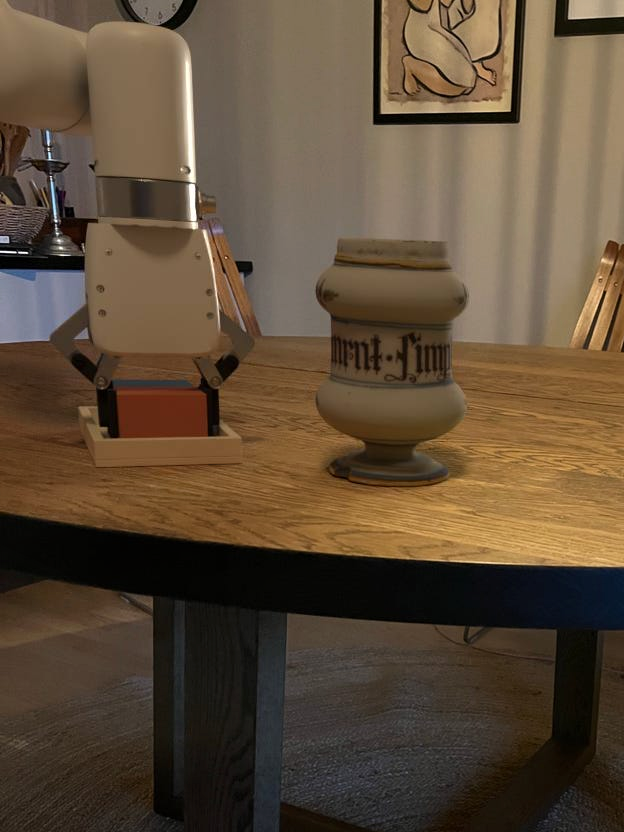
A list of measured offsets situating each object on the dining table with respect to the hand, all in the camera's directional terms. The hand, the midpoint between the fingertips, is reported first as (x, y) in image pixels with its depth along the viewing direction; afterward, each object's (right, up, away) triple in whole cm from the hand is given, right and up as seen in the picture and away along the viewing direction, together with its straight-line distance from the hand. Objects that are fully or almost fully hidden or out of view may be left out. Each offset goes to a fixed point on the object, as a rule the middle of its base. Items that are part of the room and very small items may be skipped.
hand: (160, 433), depth 87 cm
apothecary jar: (+20, -4, -2) cm, 20 cm away
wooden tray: (-1, 0, +3) cm, 3 cm away
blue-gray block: (-2, +1, +4) cm, 5 cm away
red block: (0, -1, 0) cm, 1 cm away
